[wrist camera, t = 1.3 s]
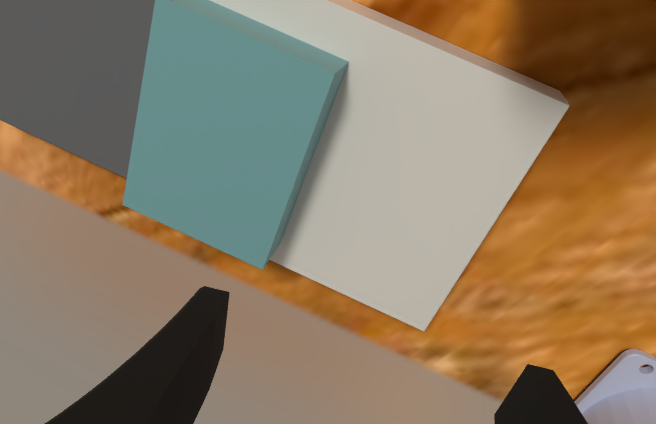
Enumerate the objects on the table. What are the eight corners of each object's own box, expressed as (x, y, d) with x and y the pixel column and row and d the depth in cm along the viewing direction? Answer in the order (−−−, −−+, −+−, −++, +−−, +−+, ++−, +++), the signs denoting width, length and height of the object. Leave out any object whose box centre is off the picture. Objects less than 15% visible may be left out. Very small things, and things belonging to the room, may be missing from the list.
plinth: (560, 90, 17) (570, 105, 16) (427, 302, 23) (424, 331, 21) (198, -67, 18) (169, -69, 16) (152, 176, 23) (126, 193, 22)
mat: (192, -37, 18) (178, -37, 18) (152, 176, 23) (139, 184, 22) (14, -115, 19) (-8, -119, 18) (11, 110, 24) (-7, 116, 23)
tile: (348, 61, 17) (335, 73, 15) (280, 243, 21) (262, 269, 19) (187, -9, 17) (156, -5, 15) (150, 184, 21) (122, 204, 19)
